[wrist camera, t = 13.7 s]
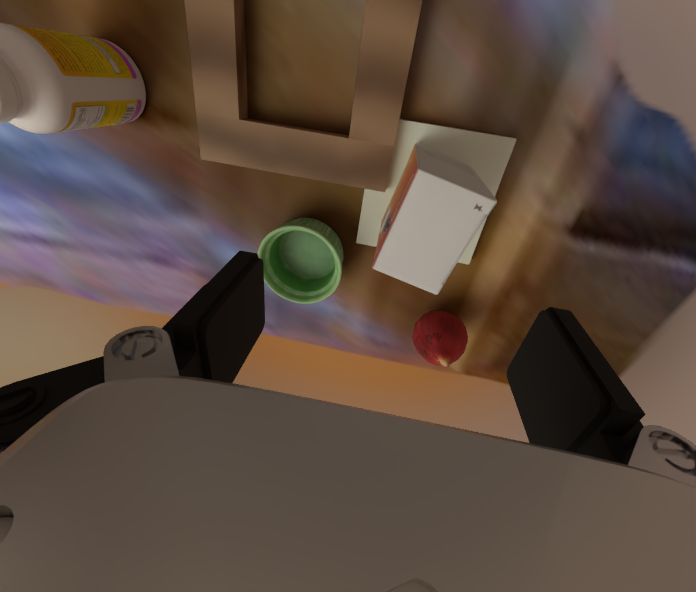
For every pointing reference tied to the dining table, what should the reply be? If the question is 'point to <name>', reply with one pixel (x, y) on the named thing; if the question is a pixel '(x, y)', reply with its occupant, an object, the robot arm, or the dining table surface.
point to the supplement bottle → (65, 81)
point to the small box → (431, 219)
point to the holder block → (292, 141)
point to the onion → (440, 337)
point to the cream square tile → (460, 144)
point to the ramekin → (302, 260)
